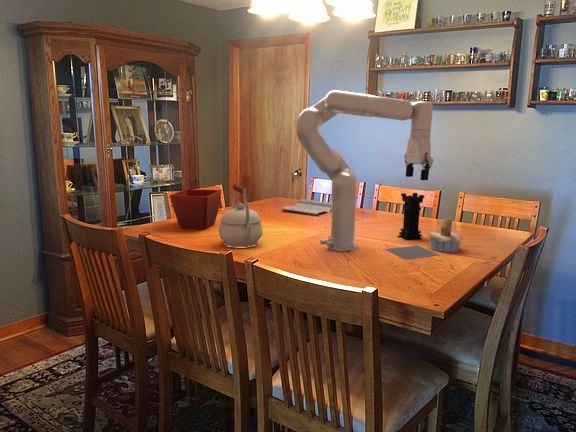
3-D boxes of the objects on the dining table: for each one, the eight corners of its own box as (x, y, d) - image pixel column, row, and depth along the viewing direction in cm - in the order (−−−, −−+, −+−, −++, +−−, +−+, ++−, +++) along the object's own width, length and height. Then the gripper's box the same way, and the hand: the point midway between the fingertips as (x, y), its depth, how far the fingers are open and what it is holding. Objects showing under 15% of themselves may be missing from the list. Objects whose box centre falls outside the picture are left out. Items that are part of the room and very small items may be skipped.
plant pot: (170, 229, 235) (168, 194, 231) (187, 221, 253) (186, 188, 249) (208, 232, 230) (207, 196, 227) (222, 223, 248) (222, 190, 245)
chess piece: (406, 241, 215) (408, 196, 210) (397, 237, 222) (399, 193, 218) (422, 240, 217) (425, 195, 213) (413, 236, 224) (416, 192, 220)
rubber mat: (405, 260, 187) (405, 259, 187) (384, 250, 201) (384, 249, 201) (440, 256, 193) (440, 255, 192) (417, 246, 206) (417, 245, 206)
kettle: (213, 239, 216) (212, 183, 211) (254, 236, 222) (253, 181, 217) (227, 255, 193) (226, 192, 188) (272, 250, 199) (272, 189, 194)
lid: (442, 243, 193) (443, 224, 191) (422, 235, 205) (423, 217, 203) (469, 240, 197) (470, 221, 196) (448, 233, 209) (449, 215, 208)
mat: (280, 212, 277) (280, 204, 276) (302, 206, 297) (302, 198, 296) (317, 217, 265) (317, 208, 264) (336, 210, 285) (337, 202, 284)
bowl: (442, 254, 195) (443, 242, 194) (424, 247, 205) (425, 235, 204) (465, 252, 199) (466, 240, 198) (447, 245, 209) (447, 233, 208)
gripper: (399, 132, 197) (396, 175, 201) (426, 135, 181) (421, 181, 185) (415, 133, 200) (411, 175, 203) (442, 135, 184) (438, 181, 188)
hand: (416, 178), depth 194 cm, fingers open, 9 cm apart
